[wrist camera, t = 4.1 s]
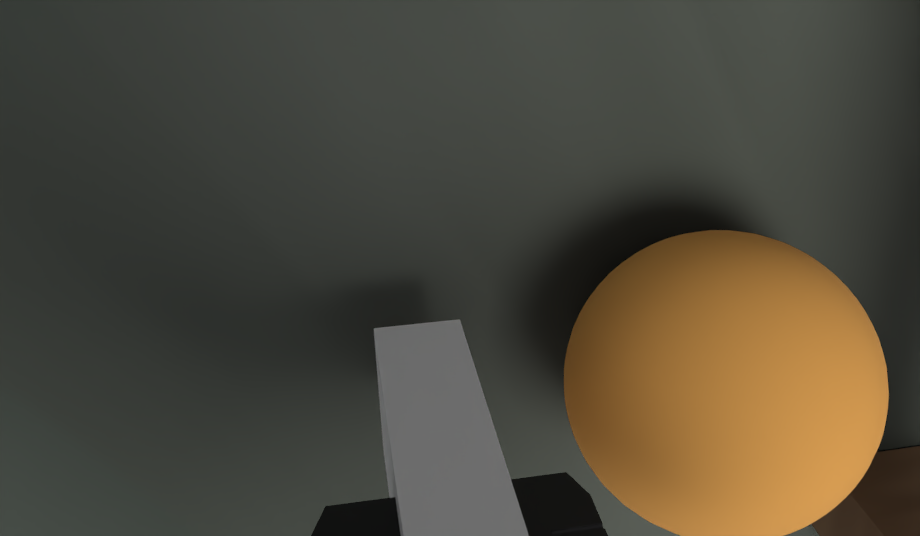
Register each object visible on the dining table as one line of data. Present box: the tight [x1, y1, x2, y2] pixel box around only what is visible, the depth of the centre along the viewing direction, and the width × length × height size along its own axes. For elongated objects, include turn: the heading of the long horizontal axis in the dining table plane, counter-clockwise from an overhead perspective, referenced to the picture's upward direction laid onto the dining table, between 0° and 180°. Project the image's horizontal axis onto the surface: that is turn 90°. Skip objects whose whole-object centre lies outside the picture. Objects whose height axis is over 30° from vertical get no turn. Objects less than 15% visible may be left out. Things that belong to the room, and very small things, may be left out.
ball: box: [564, 230, 889, 536], centre depth 15 cm, size 6×6×6 cm
